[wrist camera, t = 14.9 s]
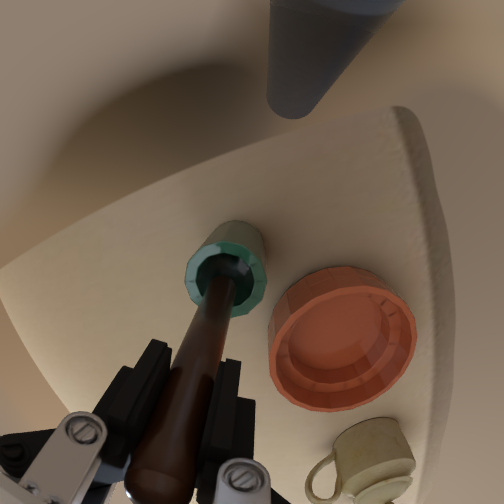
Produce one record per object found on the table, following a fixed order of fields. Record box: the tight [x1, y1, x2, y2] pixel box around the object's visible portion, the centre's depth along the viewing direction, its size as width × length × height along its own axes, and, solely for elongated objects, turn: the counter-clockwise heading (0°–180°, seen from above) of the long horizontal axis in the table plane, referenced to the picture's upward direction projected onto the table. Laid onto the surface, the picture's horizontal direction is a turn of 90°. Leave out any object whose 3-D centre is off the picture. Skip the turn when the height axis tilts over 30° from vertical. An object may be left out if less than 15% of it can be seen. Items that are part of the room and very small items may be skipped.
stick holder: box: [185, 220, 267, 318], centre depth 24 cm, size 5×5×9 cm
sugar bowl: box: [305, 418, 416, 504], centre depth 28 cm, size 15×11×15 cm
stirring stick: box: [124, 275, 236, 504], centre depth 12 cm, size 2×2×16 cm
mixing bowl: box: [268, 266, 417, 412], centre depth 27 cm, size 14×14×6 cm
